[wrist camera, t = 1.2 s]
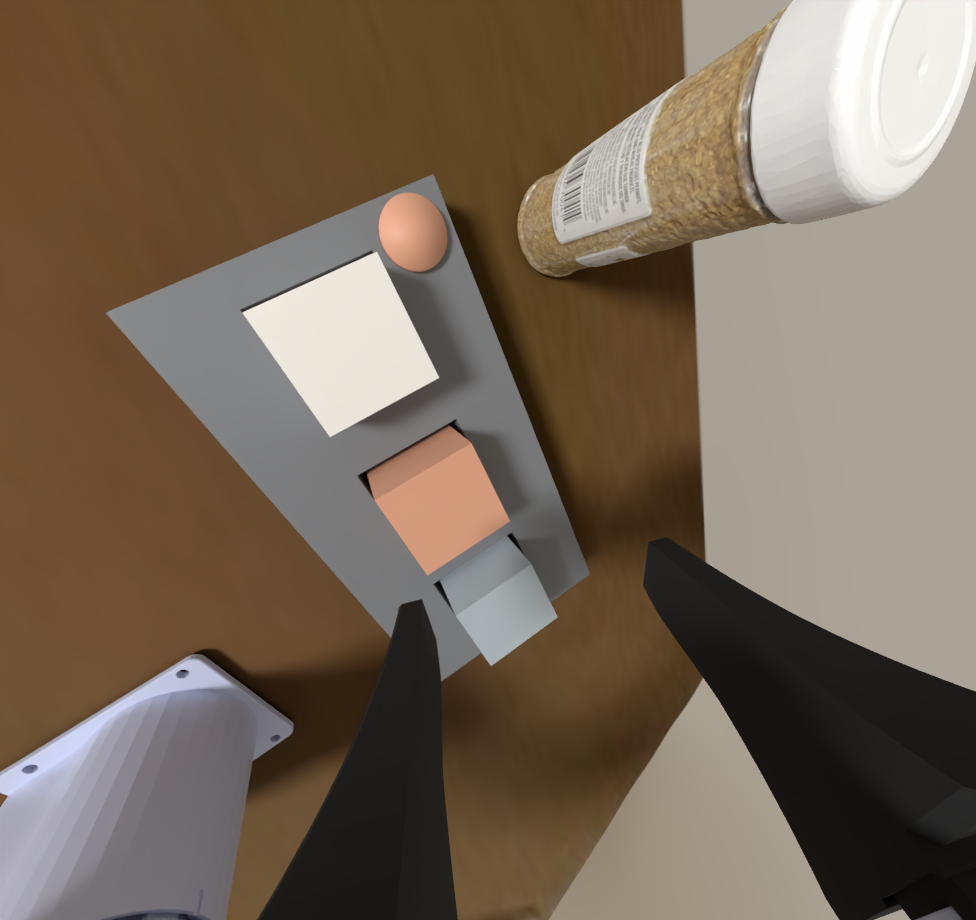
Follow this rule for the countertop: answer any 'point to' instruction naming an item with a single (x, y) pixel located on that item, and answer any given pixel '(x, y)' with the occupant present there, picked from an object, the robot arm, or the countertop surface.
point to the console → (346, 455)
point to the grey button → (498, 599)
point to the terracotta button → (437, 497)
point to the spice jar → (765, 134)
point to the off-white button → (345, 343)
